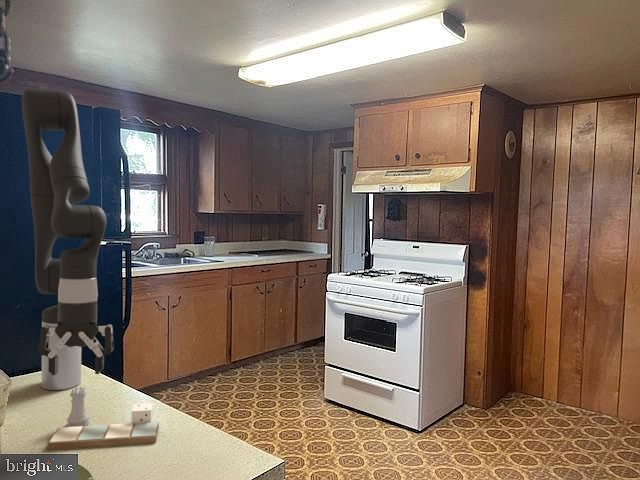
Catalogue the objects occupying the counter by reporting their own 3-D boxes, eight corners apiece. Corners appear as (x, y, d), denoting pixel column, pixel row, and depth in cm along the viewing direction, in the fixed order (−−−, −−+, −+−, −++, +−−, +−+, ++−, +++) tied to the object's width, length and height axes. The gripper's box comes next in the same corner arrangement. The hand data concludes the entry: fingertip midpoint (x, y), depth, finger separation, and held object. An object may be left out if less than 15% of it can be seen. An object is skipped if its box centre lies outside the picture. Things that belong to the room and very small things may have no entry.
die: (133, 421, 110) (134, 403, 110) (152, 420, 111) (153, 402, 110) (131, 429, 106) (131, 411, 106) (150, 428, 107) (151, 410, 107)
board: (58, 433, 102) (58, 426, 102) (158, 427, 107) (158, 421, 107) (47, 449, 96) (47, 442, 96) (155, 442, 100) (156, 435, 100)
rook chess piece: (80, 431, 104) (80, 394, 103) (61, 428, 105) (61, 391, 104) (93, 422, 108) (94, 386, 108) (75, 420, 109) (76, 384, 109)
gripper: (35, 301, 100) (33, 380, 100) (110, 301, 103) (108, 378, 103) (46, 295, 107) (45, 369, 108) (116, 295, 110) (115, 367, 111)
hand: (76, 373), depth 105 cm, fingers open, 8 cm apart
